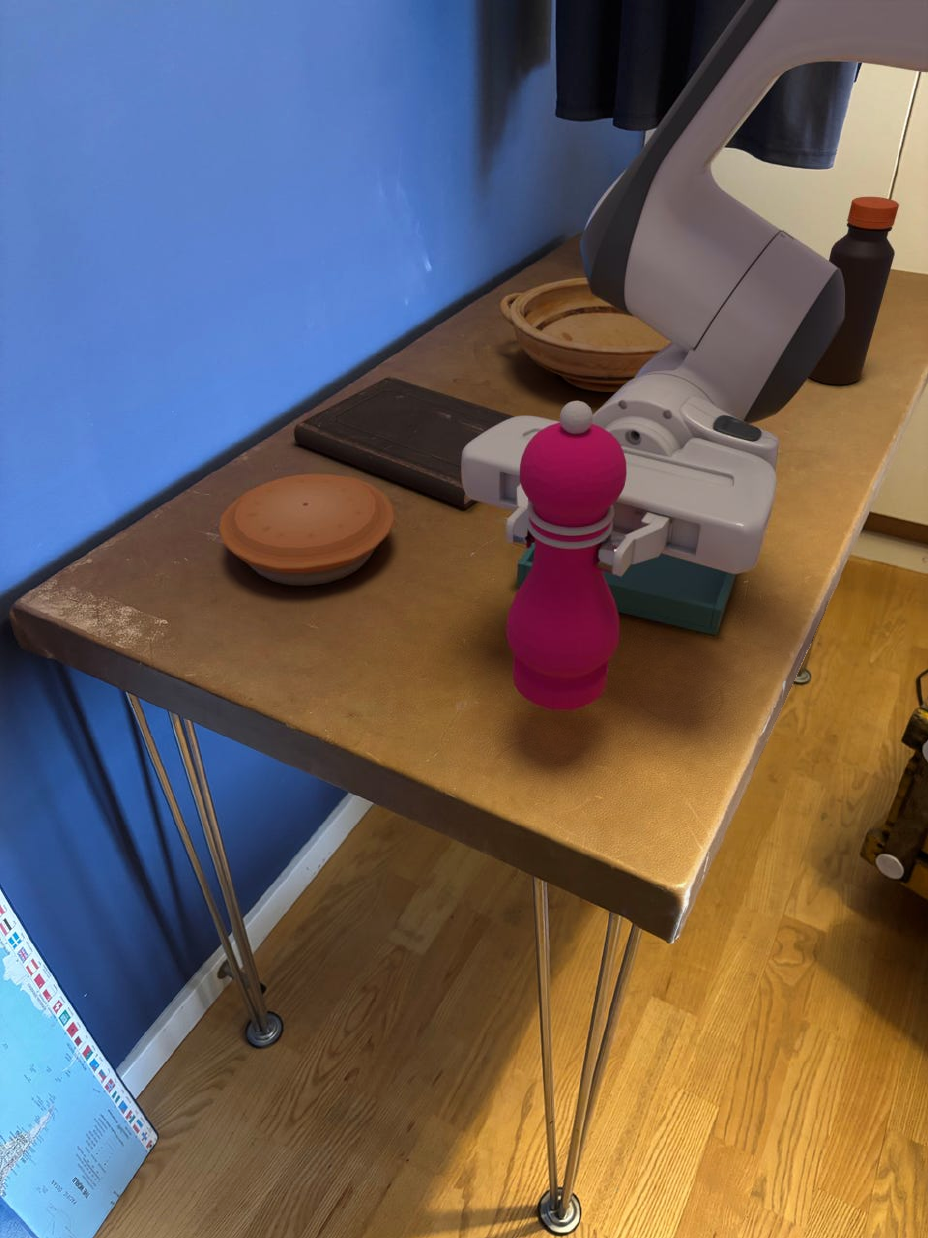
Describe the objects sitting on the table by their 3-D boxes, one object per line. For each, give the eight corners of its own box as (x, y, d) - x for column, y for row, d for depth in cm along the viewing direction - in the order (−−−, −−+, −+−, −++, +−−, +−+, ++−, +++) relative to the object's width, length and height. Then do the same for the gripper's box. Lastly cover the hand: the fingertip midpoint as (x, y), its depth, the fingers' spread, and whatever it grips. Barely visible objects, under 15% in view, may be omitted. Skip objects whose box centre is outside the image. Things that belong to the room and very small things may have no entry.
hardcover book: (389, 393, 109) (388, 375, 108) (551, 447, 99) (552, 428, 97) (294, 445, 99) (292, 426, 98) (463, 511, 89) (462, 491, 87)
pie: (191, 552, 83) (180, 506, 80) (323, 489, 92) (318, 445, 89) (296, 626, 75) (288, 576, 72) (430, 548, 84) (428, 501, 81)
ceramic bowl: (753, 364, 115) (765, 301, 110) (679, 441, 99) (690, 372, 94) (547, 319, 128) (550, 260, 123) (453, 381, 112) (451, 317, 107)
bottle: (801, 381, 111) (842, 207, 99) (804, 360, 116) (843, 191, 103) (860, 389, 109) (909, 212, 97) (860, 366, 114) (907, 196, 102)
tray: (745, 544, 84) (751, 520, 82) (716, 635, 74) (721, 610, 72) (567, 507, 89) (569, 484, 87) (516, 587, 79) (517, 563, 77)
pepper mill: (498, 710, 59) (500, 428, 46) (513, 639, 64) (519, 370, 52) (610, 723, 58) (644, 438, 45) (616, 649, 63) (647, 378, 51)
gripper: (514, 378, 65) (410, 461, 56) (805, 441, 57) (739, 551, 48) (513, 456, 69) (416, 546, 60) (784, 526, 61) (720, 643, 52)
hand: (562, 549), depth 54 cm, fingers closed on pepper mill, 5 cm apart
